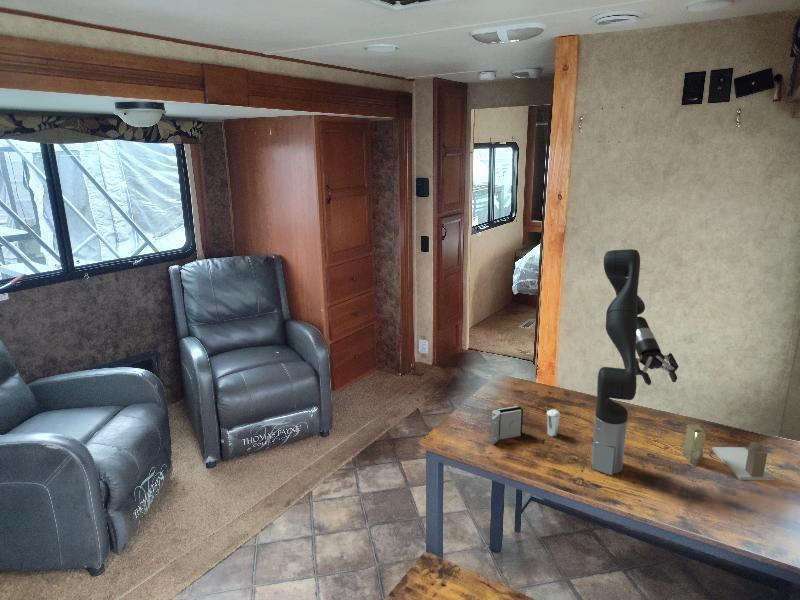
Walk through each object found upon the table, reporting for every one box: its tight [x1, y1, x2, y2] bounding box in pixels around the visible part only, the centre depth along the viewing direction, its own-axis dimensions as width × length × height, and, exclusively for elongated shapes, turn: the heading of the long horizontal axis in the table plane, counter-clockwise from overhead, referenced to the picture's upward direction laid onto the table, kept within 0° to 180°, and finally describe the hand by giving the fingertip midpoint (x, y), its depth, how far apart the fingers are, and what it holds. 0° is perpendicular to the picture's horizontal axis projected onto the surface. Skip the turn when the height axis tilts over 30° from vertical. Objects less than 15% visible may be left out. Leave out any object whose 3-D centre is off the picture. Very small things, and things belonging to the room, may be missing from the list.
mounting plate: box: [712, 441, 776, 481], centre depth 167 cm, size 16×10×10 cm, turn 176°
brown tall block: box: [682, 423, 707, 467], centre depth 169 cm, size 7×3×11 cm, turn 176°
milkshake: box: [544, 405, 561, 437], centre depth 187 cm, size 4×5×10 cm
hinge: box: [490, 405, 524, 446], centre depth 186 cm, size 14×5×10 cm, turn 118°
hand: (662, 382), depth 182 cm, fingers open, 8 cm apart
